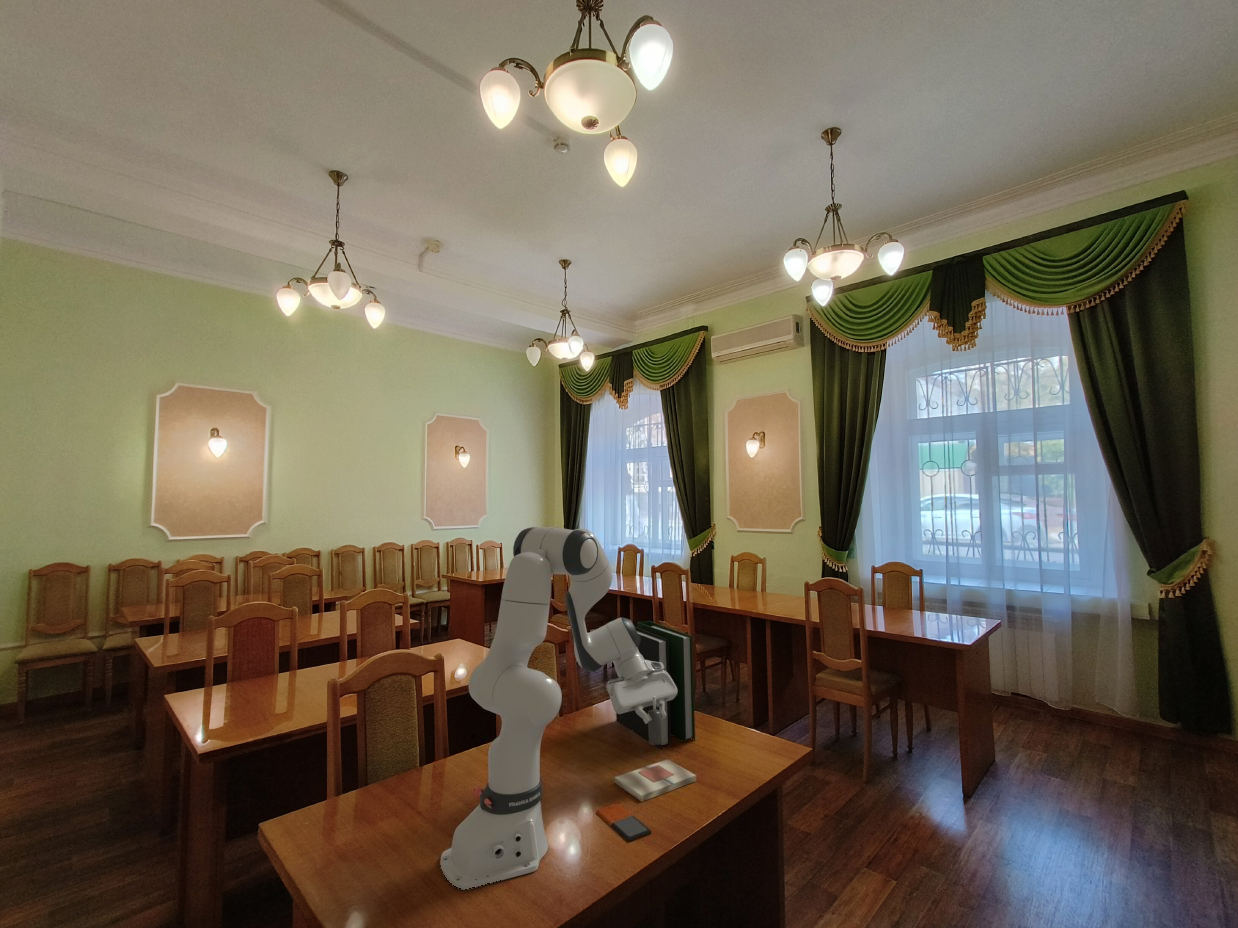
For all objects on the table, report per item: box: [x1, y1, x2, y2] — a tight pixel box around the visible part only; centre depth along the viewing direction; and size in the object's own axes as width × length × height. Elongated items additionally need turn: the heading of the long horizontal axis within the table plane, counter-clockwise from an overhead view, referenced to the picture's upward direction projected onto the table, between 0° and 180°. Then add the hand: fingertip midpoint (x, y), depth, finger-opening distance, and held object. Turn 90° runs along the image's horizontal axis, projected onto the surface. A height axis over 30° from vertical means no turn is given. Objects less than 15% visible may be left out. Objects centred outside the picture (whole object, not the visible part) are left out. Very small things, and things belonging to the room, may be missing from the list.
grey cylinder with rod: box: [648, 696, 662, 746], centre depth 157 cm, size 4×4×12 cm
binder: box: [615, 620, 696, 750], centre depth 191 cm, size 27×15×32 cm, turn 28°
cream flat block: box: [614, 758, 697, 802], centre depth 155 cm, size 18×12×2 cm, turn 124°
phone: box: [595, 802, 652, 843], centre depth 136 cm, size 6×1×15 cm
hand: (656, 719), depth 157 cm, fingers closed on grey cylinder with rod, 4 cm apart
